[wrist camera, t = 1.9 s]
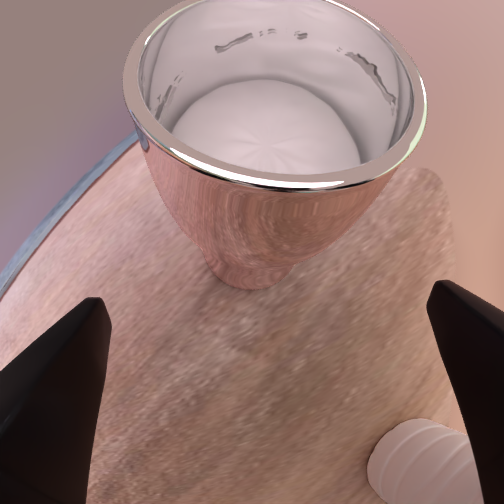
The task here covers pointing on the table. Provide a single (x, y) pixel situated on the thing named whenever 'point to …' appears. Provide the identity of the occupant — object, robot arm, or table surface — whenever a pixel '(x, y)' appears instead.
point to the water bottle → (424, 465)
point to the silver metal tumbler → (270, 125)
